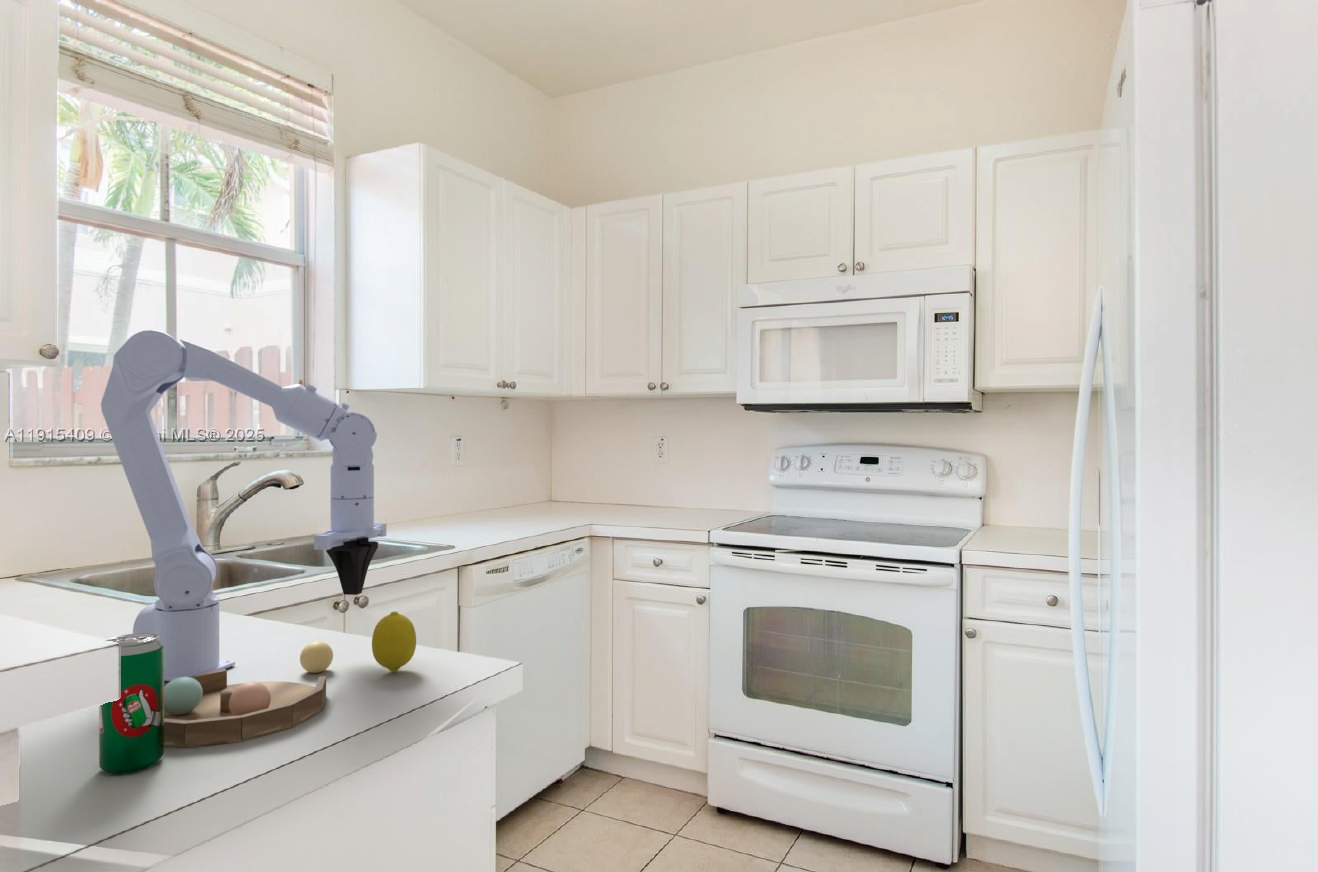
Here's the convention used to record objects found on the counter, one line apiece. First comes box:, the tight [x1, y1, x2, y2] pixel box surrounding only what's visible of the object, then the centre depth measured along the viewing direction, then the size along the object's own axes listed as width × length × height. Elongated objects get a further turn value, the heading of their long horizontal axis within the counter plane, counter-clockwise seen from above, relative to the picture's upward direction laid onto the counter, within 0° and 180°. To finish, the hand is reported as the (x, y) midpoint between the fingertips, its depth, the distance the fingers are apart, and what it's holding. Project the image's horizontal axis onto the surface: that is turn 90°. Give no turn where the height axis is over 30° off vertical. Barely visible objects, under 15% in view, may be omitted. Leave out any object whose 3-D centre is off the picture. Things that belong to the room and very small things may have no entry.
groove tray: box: [164, 668, 327, 749], centre depth 87 cm, size 19×19×2 cm
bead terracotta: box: [229, 681, 271, 716], centre depth 84 cm, size 4×4×4 cm
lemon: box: [371, 611, 417, 673], centre depth 102 cm, size 6×6×8 cm
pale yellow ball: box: [299, 640, 334, 674], centre depth 102 cm, size 4×4×4 cm
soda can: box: [98, 633, 165, 776], centre depth 73 cm, size 5×5×12 cm
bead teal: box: [164, 677, 203, 715], centre depth 85 cm, size 4×4×4 cm
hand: (352, 593), depth 109 cm, fingers closed
